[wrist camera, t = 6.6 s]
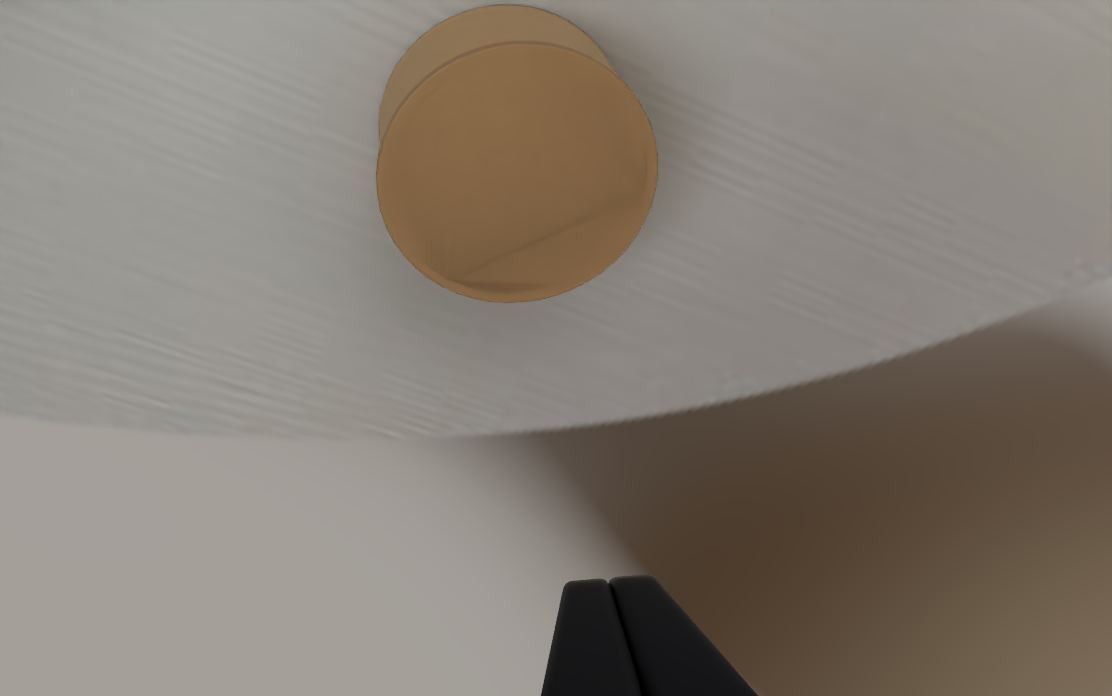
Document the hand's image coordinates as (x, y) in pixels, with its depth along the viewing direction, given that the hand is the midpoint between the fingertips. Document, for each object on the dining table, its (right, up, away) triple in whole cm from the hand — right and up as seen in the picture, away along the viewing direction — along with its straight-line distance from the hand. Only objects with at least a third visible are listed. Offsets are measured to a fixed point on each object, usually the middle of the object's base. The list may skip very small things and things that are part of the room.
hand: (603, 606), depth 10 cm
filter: (-2, +7, +10) cm, 13 cm away
